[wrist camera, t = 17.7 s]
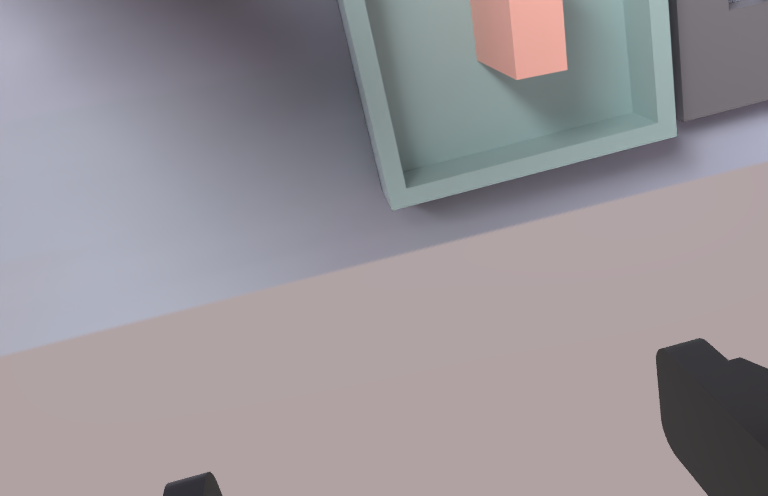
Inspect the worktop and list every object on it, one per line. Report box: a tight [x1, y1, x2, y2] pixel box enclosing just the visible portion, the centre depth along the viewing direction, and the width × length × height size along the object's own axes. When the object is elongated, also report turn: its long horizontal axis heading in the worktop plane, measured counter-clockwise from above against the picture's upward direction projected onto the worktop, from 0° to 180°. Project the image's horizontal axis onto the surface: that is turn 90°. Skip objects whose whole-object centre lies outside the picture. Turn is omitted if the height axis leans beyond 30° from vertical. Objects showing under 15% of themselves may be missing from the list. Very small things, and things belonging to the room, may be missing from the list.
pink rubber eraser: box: [470, 0, 568, 80], centre depth 35 cm, size 6×2×7 cm, turn 10°
